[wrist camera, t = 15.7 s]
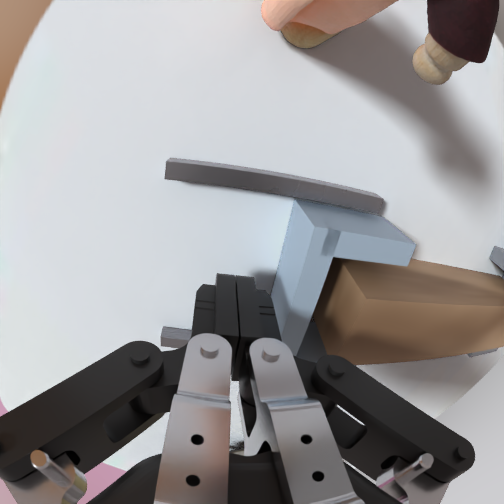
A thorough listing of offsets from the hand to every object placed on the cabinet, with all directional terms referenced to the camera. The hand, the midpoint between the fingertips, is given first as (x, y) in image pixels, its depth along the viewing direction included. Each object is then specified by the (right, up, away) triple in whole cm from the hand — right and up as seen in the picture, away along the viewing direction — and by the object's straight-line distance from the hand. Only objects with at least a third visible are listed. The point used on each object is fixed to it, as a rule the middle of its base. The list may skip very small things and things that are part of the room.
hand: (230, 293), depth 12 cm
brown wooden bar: (+12, 0, +4) cm, 12 cm away
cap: (+4, 0, +2) cm, 5 cm away
